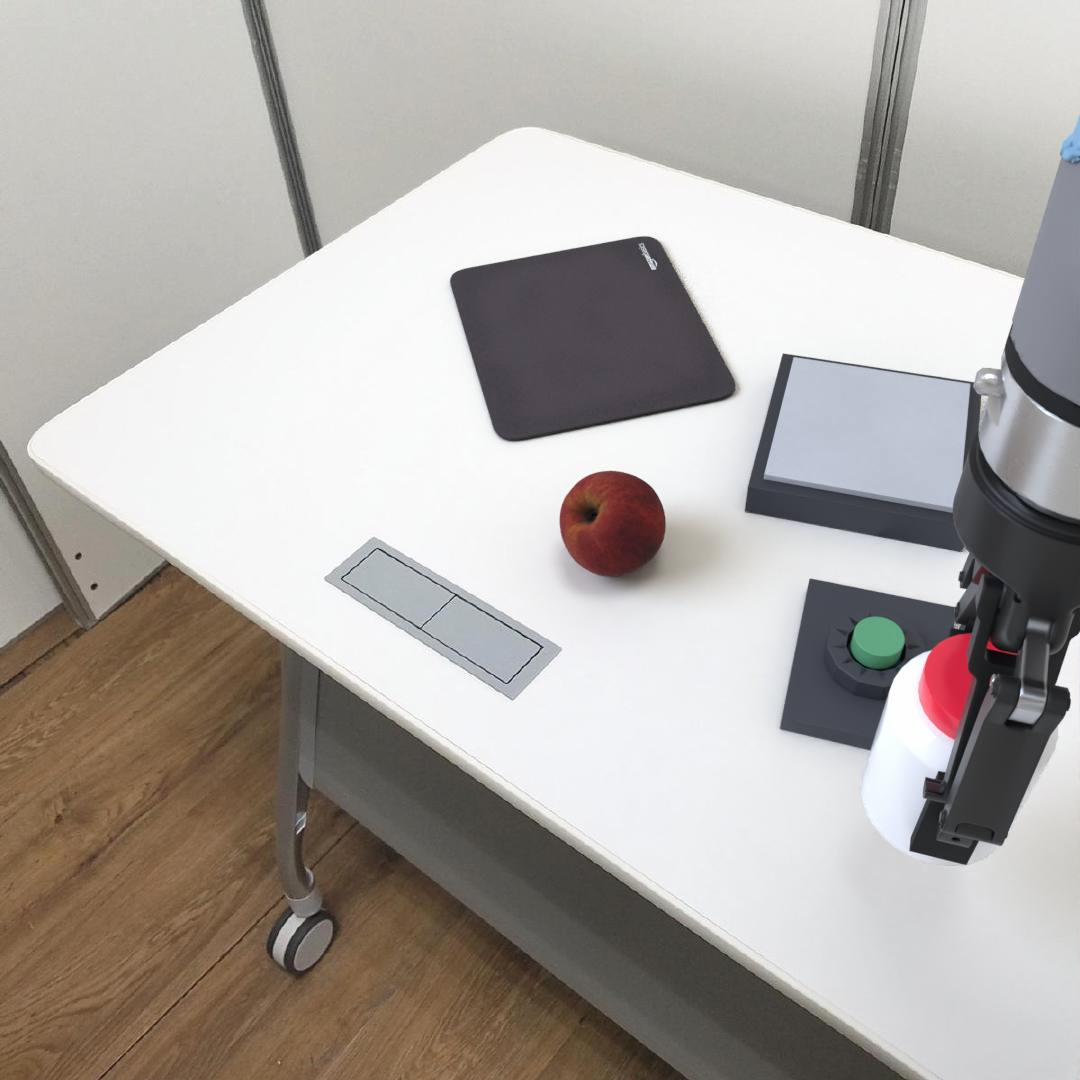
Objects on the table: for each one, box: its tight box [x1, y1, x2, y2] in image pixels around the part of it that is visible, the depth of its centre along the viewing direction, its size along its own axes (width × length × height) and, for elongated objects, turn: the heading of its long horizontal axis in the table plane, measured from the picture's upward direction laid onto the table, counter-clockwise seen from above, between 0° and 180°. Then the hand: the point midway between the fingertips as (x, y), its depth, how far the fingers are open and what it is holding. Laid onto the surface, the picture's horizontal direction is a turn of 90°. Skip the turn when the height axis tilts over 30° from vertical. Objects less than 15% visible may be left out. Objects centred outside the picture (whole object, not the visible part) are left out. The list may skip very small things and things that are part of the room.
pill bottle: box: [860, 633, 1059, 867], centre depth 54 cm, size 8×8×11 cm
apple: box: [559, 470, 667, 577], centre depth 79 cm, size 7×8×8 cm
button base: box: [779, 578, 956, 751], centre depth 73 cm, size 12×10×3 cm
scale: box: [744, 353, 982, 553], centre depth 86 cm, size 16×16×3 cm
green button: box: [851, 617, 905, 669], centre depth 71 cm, size 3×3×2 cm
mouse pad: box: [449, 235, 736, 441], centre depth 99 cm, size 25×21×1 cm
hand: (944, 777), depth 57 cm, fingers closed on pill bottle, 8 cm apart
